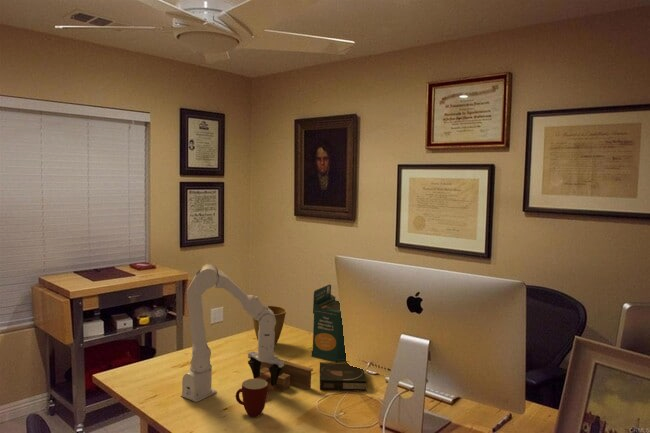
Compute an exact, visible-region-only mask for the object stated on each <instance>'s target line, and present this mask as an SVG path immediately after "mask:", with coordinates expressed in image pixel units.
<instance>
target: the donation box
mask: <svg viewBox="0 0 650 433" xmlns="http://www.w3.org/2000/svg"><path fill="white" fill-rule="evenodd" d="M312 300H313V304H312V306H313V307H312V314H313V332H312V333H313V335H312V350H311V355H310V356H311V358H316V359H321V360H325V361H329V362H332V363H347V362H346V353H345V345H344V336H343V325H342V318H341V311H340V303H339V301H340V300H336V296H335V295H333V294H332V285H331V284H327V285H325V286H322V287H320V288H317V289H315V290H314V292H313V299H312Z"/></svg>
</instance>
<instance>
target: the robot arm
mask: <svg viewBox="0 0 650 433" xmlns="http://www.w3.org/2000/svg"><path fill="white" fill-rule="evenodd" d="M214 286H215V289H224V290H226V291H227V292H228V293H229V294H231V295H232V296H233V297H234V298H235V299H237V300H238V301H239V302H240V304H241V309H242V310H243V311H245V313H247V314H248V315H249V316H250V317H251V318H252V319H253V318H254V319H255V320H258V321H259V331H258V340H257V351H249V352H247V359H249V360H248V361H247V364H248V366H249V368H250V369H251V373H252V377H253V379H255V378H257V377H259V376H260V366H261V362H266V363H269V364H273V366H271V367H269V370H270V374H271V386H274V385H276V383H277V379H278V376H279V374H280V372H281V370H282V368H283V366H284V360H285V359H281V358H279V357H278V356H276V355H275V347H274V341H275V331H274V329H275V325H276V319H275V315H274V313H273V311H272V310H271V309H270V308H269V307H268V306H269V305H265V304H263V303H262V302H261V301H260V298H259V296H257V295H253V294H247V293H246V292H244V290H243V289H242V288H241V287H239V286H238V284H236V283H235V281H233V280H232V279H231V277H229V276H228V275H227V274H226V273H225V272H223V270H221V269H218V267H217V266H216V265H214V264H211V263H206V264H204V265H202V266H201V267H200V268H199V269H198V270H197V271H196V273H195V275H194V277H192V280H191V282H190V283H189V286H188V287H187V290H186V299H187V300H186V301H187V307H188V308H187V309H188V317H189V327H190V334H191V343H192V345H191V346H192V348H191V349H192V350H191V351H192V355H191V360H190V366H189V370H188V371H187V372H186V373H185V374H184V375H183V376H182V384H181V385H182V386H181V388H182V391H181V394H180V397H183V398H185V399H188V400H190V401H193V402H195V403H198V402H200V401H202V400H204V399H206V398H208V397H210V396H212V395H213V394H216V393H217V392H218V390H217V389H215V388H214V389H213V388H212V381H213V380H212V375H213V374H212V373H213V372H212V371H213V370H212V369H213V368H212V367H213V366H212V364H211V354H212V350H211V348H210V347H209V346H208V341H207V334H206V326H205V319H204V317H205V316H204V308H203V307H204V306H203V299H202V296H203V294H205V292H206V291H207V290H208V289H209V290H210V289H211V288H213V287H214Z"/></svg>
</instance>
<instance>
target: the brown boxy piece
mask: <svg viewBox="0 0 650 433" xmlns="http://www.w3.org/2000/svg"><path fill="white" fill-rule="evenodd" d="M279 375H280V374H279ZM255 379H263V380H265V381H267V383H268V393H269V392H270V391H272V390H274V389H276V385H277V383H276V385H274V386H271V374H270V370H269V372H267V373H265V374H263V375H261V376H259V377H257V378H255Z"/></svg>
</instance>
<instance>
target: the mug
mask: <svg viewBox="0 0 650 433" xmlns="http://www.w3.org/2000/svg"><path fill="white" fill-rule="evenodd" d="M268 393H269V392H268V383H267V381H265V380H263V379H254V378H248V379H246V380H244V381H242V383H241V388H238V390H237V391H236V393H235V399H236V402H237V403H238V404H240V405H242V406H243V407H244V411H245V412H246V413H247V416H248V417H251V418H257V417H260V416H261V414H262V413H263V411H264V409H265V406H266V402H267V397H268ZM240 394H241V395H242V400H241V397H240Z"/></svg>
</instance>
